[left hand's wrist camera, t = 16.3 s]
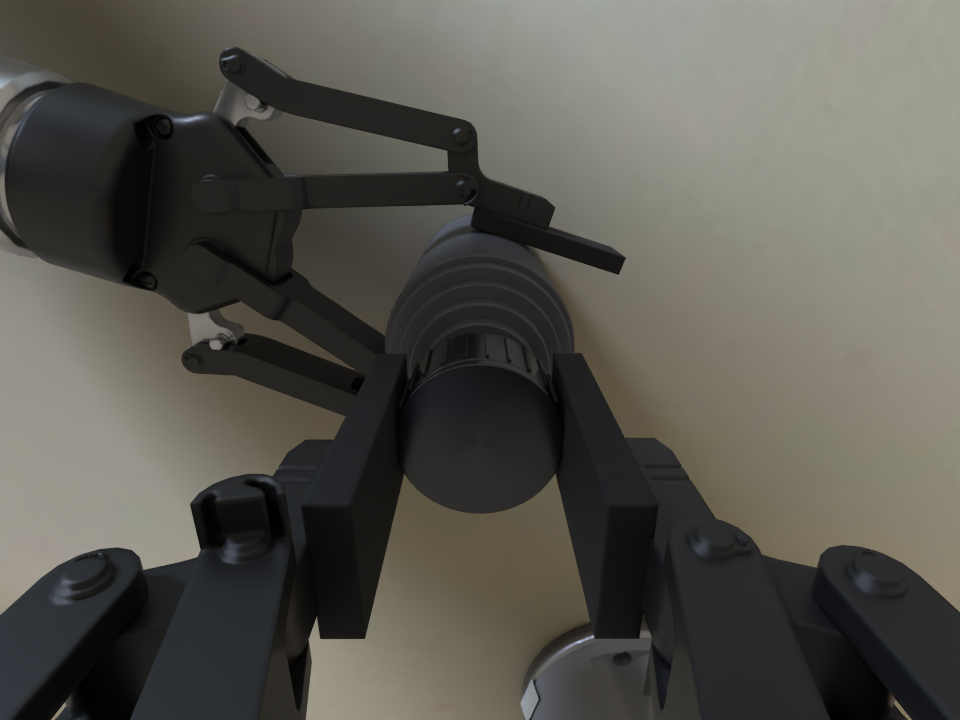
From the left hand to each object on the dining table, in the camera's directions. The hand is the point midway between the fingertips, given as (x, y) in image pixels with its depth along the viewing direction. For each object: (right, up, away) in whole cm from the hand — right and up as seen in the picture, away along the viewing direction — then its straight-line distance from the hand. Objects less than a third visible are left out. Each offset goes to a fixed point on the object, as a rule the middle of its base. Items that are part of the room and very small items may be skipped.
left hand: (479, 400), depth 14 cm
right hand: (+5, +2, +10) cm, 11 cm away
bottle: (0, +6, +15) cm, 17 cm away
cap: (0, -1, -2) cm, 2 cm away
